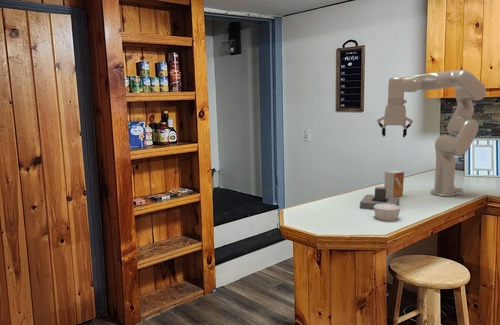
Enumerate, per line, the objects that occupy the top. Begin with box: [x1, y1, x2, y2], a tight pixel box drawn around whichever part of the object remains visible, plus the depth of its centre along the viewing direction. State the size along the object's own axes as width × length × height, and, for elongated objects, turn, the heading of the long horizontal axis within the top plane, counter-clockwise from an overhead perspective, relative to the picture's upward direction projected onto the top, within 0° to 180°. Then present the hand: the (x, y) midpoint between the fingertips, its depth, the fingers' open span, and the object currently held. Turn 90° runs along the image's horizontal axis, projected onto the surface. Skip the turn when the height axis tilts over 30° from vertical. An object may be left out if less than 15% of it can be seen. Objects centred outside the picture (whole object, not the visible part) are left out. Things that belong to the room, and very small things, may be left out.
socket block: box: [359, 194, 400, 211], centre depth 212 cm, size 16×16×3 cm
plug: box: [374, 185, 387, 202], centre depth 213 cm, size 5×5×9 cm
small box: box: [383, 169, 405, 198], centre depth 232 cm, size 8×6×13 cm
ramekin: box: [373, 204, 401, 222], centre depth 193 cm, size 11×11×5 cm
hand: (393, 136), depth 220 cm, fingers open, 9 cm apart
